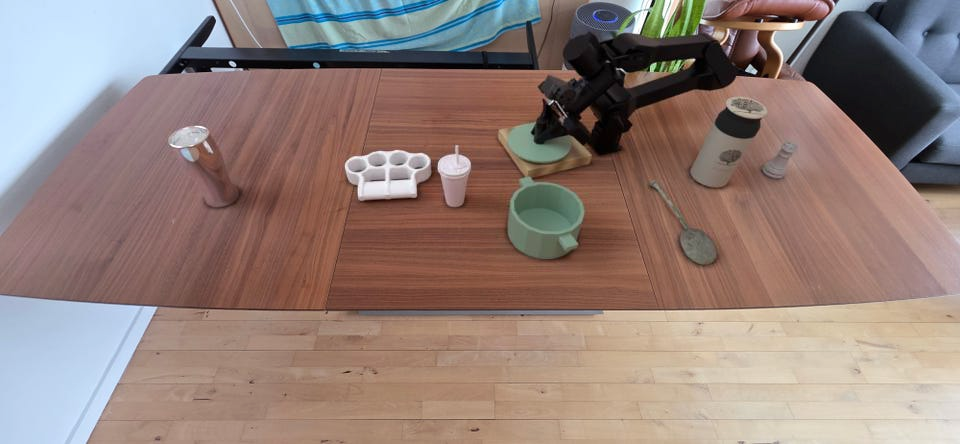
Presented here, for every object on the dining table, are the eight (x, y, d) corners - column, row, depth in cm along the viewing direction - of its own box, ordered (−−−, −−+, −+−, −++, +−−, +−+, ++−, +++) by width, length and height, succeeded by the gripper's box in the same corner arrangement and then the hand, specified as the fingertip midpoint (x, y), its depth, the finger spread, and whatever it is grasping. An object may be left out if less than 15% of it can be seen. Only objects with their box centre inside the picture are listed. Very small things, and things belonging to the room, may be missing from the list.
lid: (576, 135, 101) (582, 110, 96) (561, 172, 91) (566, 146, 87) (518, 121, 104) (521, 96, 99) (498, 155, 95) (499, 130, 90)
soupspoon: (687, 269, 79) (719, 266, 80) (696, 258, 76) (728, 255, 78) (639, 186, 93) (666, 184, 94) (644, 174, 90) (672, 173, 92)
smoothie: (466, 214, 86) (467, 158, 76) (435, 208, 87) (432, 153, 76) (473, 192, 90) (474, 137, 80) (443, 188, 91) (441, 133, 81)
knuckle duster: (343, 205, 87) (350, 160, 96) (433, 200, 88) (430, 156, 98) (340, 193, 84) (347, 148, 94) (432, 188, 86) (429, 144, 96)
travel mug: (689, 162, 100) (724, 92, 87) (726, 170, 98) (767, 100, 85) (689, 183, 94) (726, 112, 81) (727, 192, 93) (771, 121, 80)
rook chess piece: (782, 170, 99) (802, 141, 93) (782, 181, 96) (803, 153, 90) (761, 164, 100) (779, 136, 94) (761, 175, 97) (780, 147, 91)
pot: (549, 193, 91) (554, 167, 86) (597, 258, 79) (606, 233, 74) (491, 208, 87) (493, 182, 82) (532, 279, 76) (537, 254, 70)
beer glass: (248, 190, 89) (218, 129, 78) (224, 212, 84) (189, 151, 73) (221, 182, 90) (188, 121, 79) (196, 204, 86) (157, 142, 75)
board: (556, 125, 108) (557, 117, 106) (589, 163, 98) (591, 155, 96) (497, 138, 104) (498, 129, 102) (526, 179, 94) (528, 170, 92)
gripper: (552, 43, 91) (499, 96, 97) (589, 88, 79) (526, 145, 85) (579, 74, 98) (528, 121, 104) (617, 119, 86) (557, 170, 92)
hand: (534, 138), depth 96 cm, fingers closed on lid, 2 cm apart
